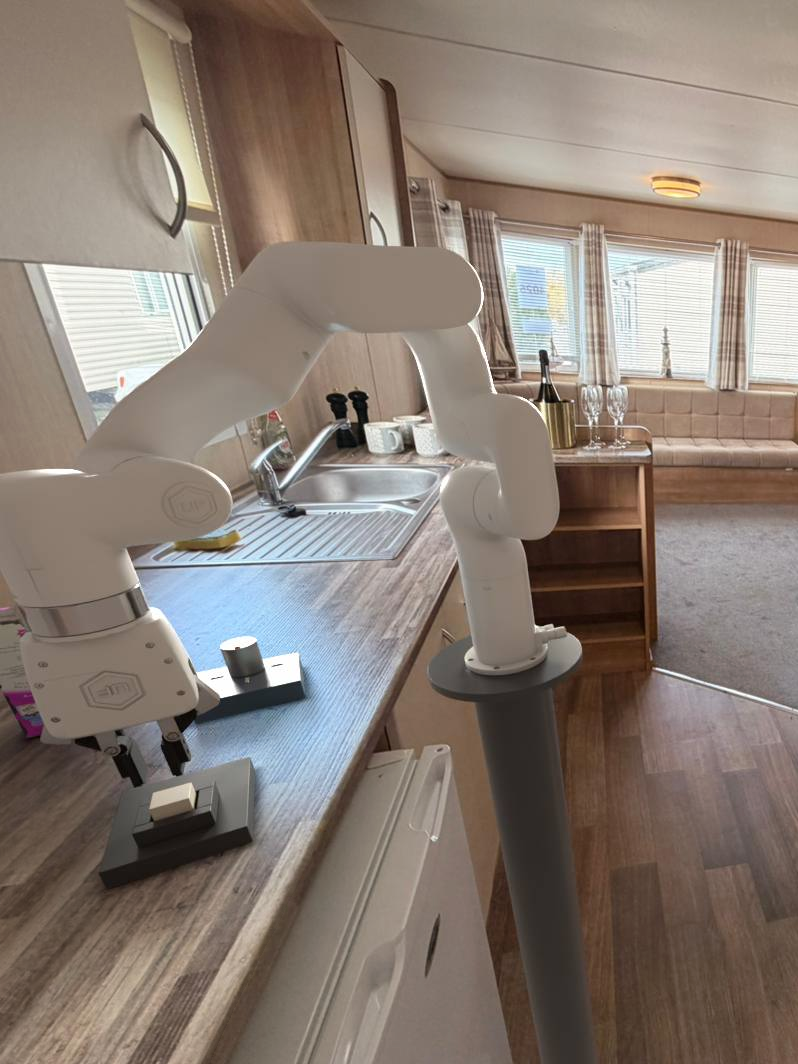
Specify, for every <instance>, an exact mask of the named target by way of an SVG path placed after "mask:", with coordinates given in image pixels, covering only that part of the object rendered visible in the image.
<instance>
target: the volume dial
mask: <svg viewBox="0 0 798 1064" xmlns="http://www.w3.org/2000/svg"><path fill="white" fill-rule="evenodd" d="M219 649H220V652H221V655H222V657H223V660H224V664H225V667H227V669H228V672H229V674H230V676H232V677H246V676H250V675H253V674H256V673H258V672H260V671H262V670H263V669H264V668H265V665H264V662H263V657H262V656H263V655H262V653H261V650H260V647H259V644H258V641H257V639H256V638H255V637H252V636H242V637H236V638H232V639H229V640H227V641H224V642H222V643H221V644H220V646H219Z"/></svg>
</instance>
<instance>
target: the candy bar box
mask: <svg viewBox="0 0 798 1064" xmlns="http://www.w3.org/2000/svg"><path fill="white" fill-rule="evenodd" d="M9 607H10V606H5V607H0V610H3V609H8V608H9ZM26 632H27V631H26V629H25V627H23V626H22V625H21V624H17V625H15V624H6V625H1V624H0V691H1V693H2V695H3V697H4V699H5V700H6V702H7V704H8V706H9V708H10V709H11V712H12V714H13V715H14V717H15V719H16V721H17V723H18V725H19V726H20V728H21V731H22V732H23V734H24V736H25V738H29V739H30V738H35V737H41V734H42V730H43V726H44V723H43V720H42V718H41V716H40V713H39V711H38V708H37V705H36V703H35V700H34V697H33V694H32V692H31V689H30V686H29V683H28V680H27V676H26V673H25V669H24V666H23V661H22V657H21V652H20V644H19V639H20V638H21V637H22V636H23V635H24V634H25V633H26Z"/></svg>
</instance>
